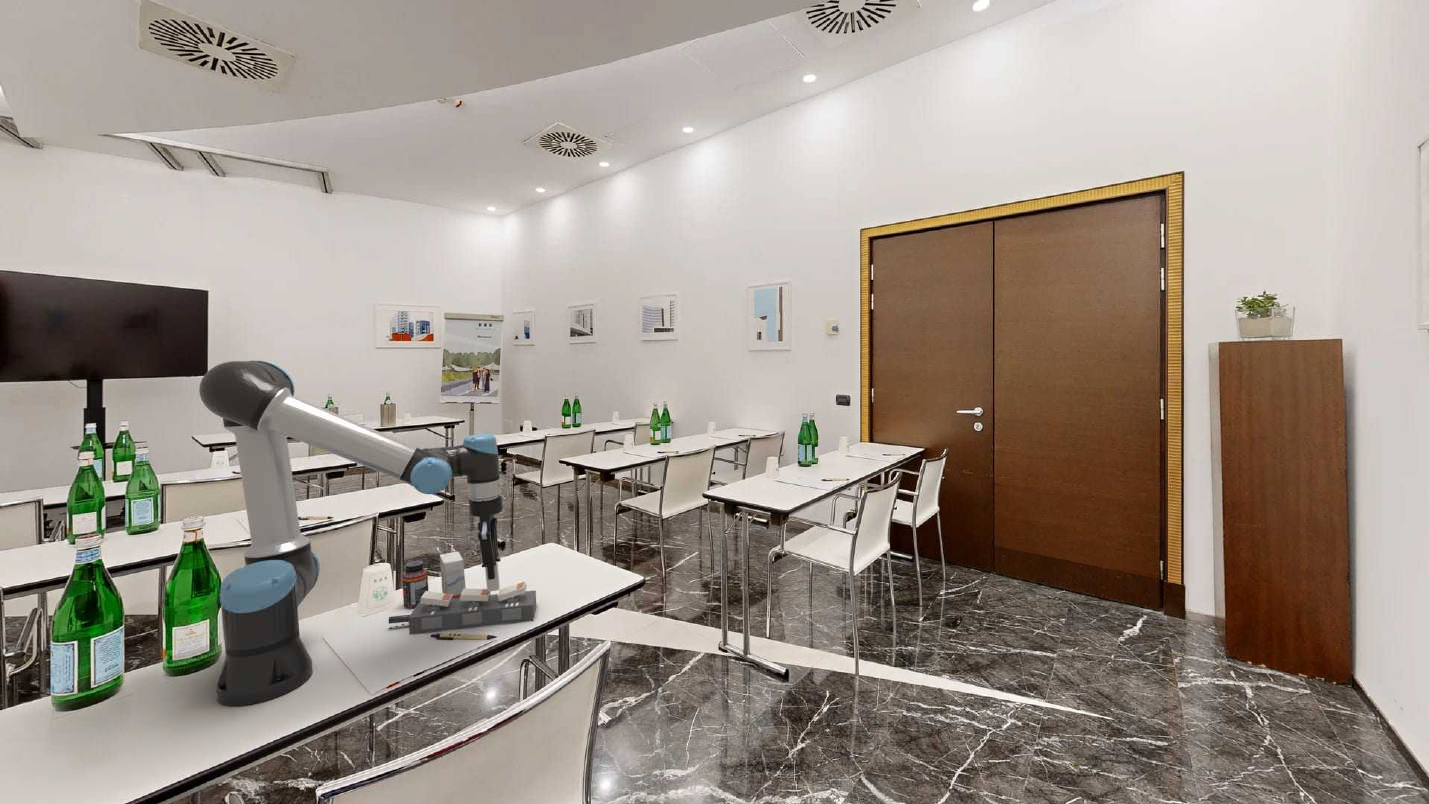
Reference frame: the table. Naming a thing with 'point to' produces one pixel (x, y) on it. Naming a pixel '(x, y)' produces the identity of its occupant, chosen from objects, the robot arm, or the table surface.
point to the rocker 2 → (474, 595)
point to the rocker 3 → (512, 591)
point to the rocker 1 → (436, 598)
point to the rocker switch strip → (469, 613)
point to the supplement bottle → (414, 583)
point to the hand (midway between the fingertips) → (493, 589)
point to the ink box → (452, 574)
